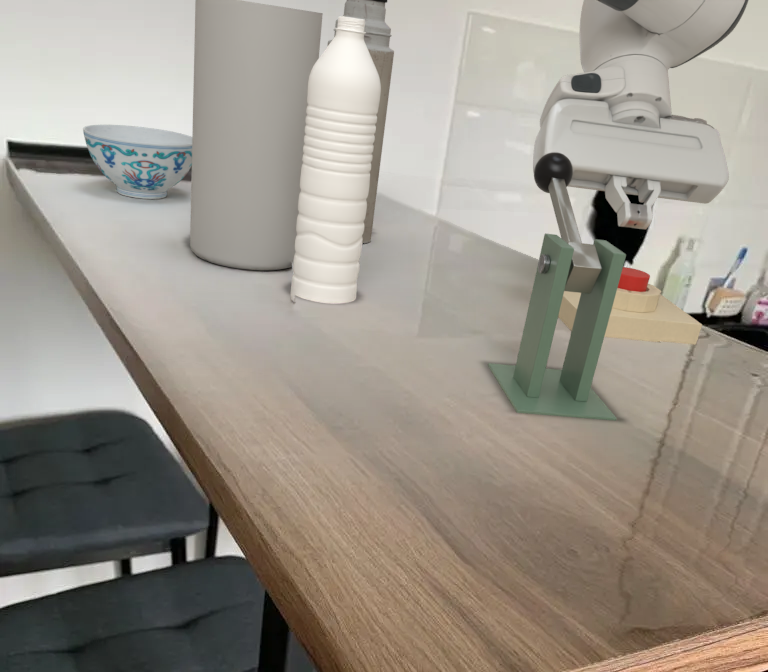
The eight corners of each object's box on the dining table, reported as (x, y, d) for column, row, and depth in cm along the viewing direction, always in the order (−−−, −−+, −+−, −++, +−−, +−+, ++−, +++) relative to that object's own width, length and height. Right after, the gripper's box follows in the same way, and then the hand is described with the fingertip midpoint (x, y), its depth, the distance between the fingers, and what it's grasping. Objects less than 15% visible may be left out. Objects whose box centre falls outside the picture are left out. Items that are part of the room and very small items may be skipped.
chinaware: (180, 211, 114) (181, 148, 110) (67, 194, 114) (64, 131, 110) (208, 193, 127) (210, 137, 123) (107, 177, 127) (106, 121, 123)
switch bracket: (485, 376, 74) (516, 223, 68) (573, 383, 75) (612, 234, 69) (513, 424, 65) (552, 254, 59) (613, 432, 67) (661, 266, 60)
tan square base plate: (651, 321, 97) (664, 277, 95) (692, 355, 88) (708, 307, 85) (541, 310, 95) (552, 264, 93) (572, 343, 86) (584, 293, 83)
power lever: (526, 176, 74) (538, 141, 71) (561, 180, 74) (574, 146, 72) (554, 294, 65) (569, 260, 63) (594, 298, 66) (610, 265, 63)
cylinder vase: (166, 252, 95) (169, -11, 83) (231, 237, 105) (242, 1, 93) (262, 279, 91) (280, 6, 79) (320, 260, 101) (344, 16, 89)
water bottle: (354, 316, 84) (390, 23, 71) (287, 308, 83) (312, 11, 71) (355, 292, 91) (387, 23, 79) (293, 284, 91) (316, 12, 78)
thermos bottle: (317, 226, 117) (339, -13, 103) (374, 235, 117) (404, -3, 103) (304, 237, 110) (327, -17, 97) (365, 247, 110) (396, -6, 96)
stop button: (636, 285, 91) (641, 268, 90) (651, 296, 88) (656, 279, 87) (601, 281, 91) (605, 264, 90) (614, 292, 87) (619, 275, 86)
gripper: (702, 142, 95) (713, 252, 92) (525, 117, 92) (529, 231, 88) (733, 101, 89) (747, 218, 86) (546, 74, 86) (551, 194, 82)
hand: (635, 224), depth 87 cm, fingers closed
